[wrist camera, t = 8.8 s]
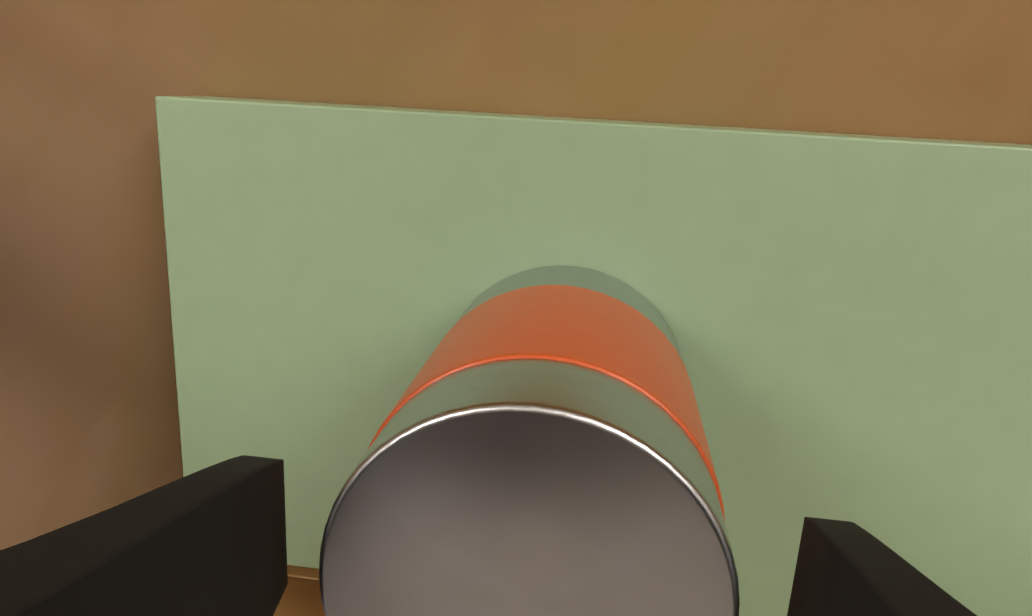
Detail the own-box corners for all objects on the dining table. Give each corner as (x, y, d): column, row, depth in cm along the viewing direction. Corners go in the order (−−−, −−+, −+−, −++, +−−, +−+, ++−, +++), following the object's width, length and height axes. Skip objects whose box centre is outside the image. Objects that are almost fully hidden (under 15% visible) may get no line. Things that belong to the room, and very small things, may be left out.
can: (439, 478, 17) (316, 745, 10) (445, 252, 16) (307, 379, 9) (672, 504, 17) (715, 806, 10) (701, 273, 15) (776, 425, 8)
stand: (227, 511, 21) (188, 553, 19) (203, 96, 18) (153, 95, 16) (998, 604, 19) (1041, 661, 17) (1120, 149, 16) (1190, 157, 14)
